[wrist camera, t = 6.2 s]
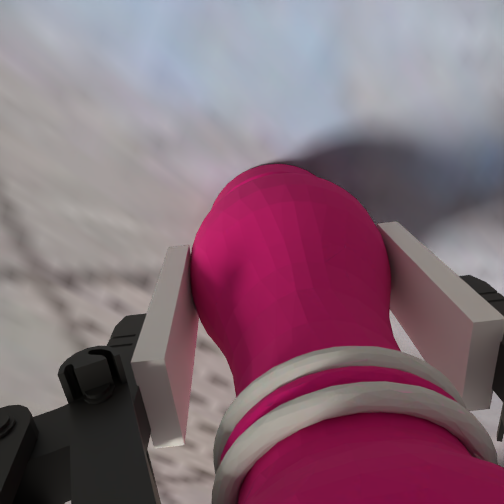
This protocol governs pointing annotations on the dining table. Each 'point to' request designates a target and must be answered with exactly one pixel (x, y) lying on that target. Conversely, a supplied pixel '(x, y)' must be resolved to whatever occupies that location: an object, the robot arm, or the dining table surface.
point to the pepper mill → (323, 358)
